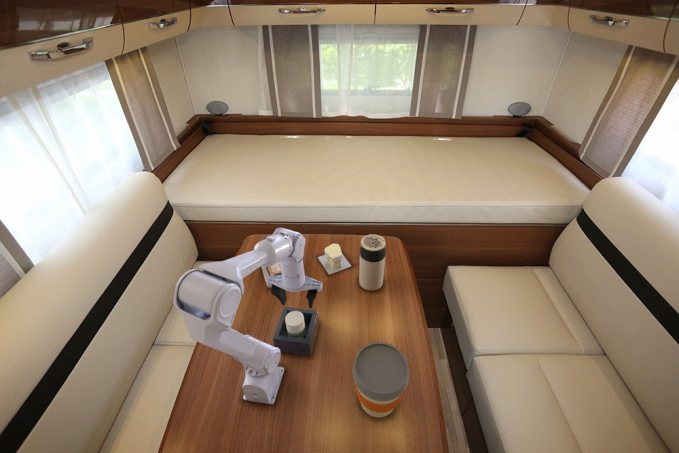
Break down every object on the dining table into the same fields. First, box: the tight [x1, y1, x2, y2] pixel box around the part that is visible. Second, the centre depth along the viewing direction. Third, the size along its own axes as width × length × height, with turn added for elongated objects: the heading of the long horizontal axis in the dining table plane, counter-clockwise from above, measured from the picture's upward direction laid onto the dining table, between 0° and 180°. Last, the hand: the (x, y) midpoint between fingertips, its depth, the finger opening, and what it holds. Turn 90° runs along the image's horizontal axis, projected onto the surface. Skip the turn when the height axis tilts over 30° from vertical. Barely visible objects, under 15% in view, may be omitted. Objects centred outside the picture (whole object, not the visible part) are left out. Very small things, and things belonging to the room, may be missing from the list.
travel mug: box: [358, 233, 387, 292], centre depth 107 cm, size 8×8×18 cm
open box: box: [272, 306, 320, 357], centre depth 94 cm, size 11×10×6 cm
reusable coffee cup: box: [352, 341, 410, 418], centre depth 77 cm, size 13×13×15 cm
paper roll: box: [285, 311, 306, 339], centre depth 93 cm, size 9×5×5 cm
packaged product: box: [260, 261, 282, 289], centre depth 117 cm, size 18×5×10 cm
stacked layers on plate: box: [317, 243, 352, 276], centre depth 119 cm, size 10×9×6 cm
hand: (297, 303), depth 92 cm, fingers open, 7 cm apart
